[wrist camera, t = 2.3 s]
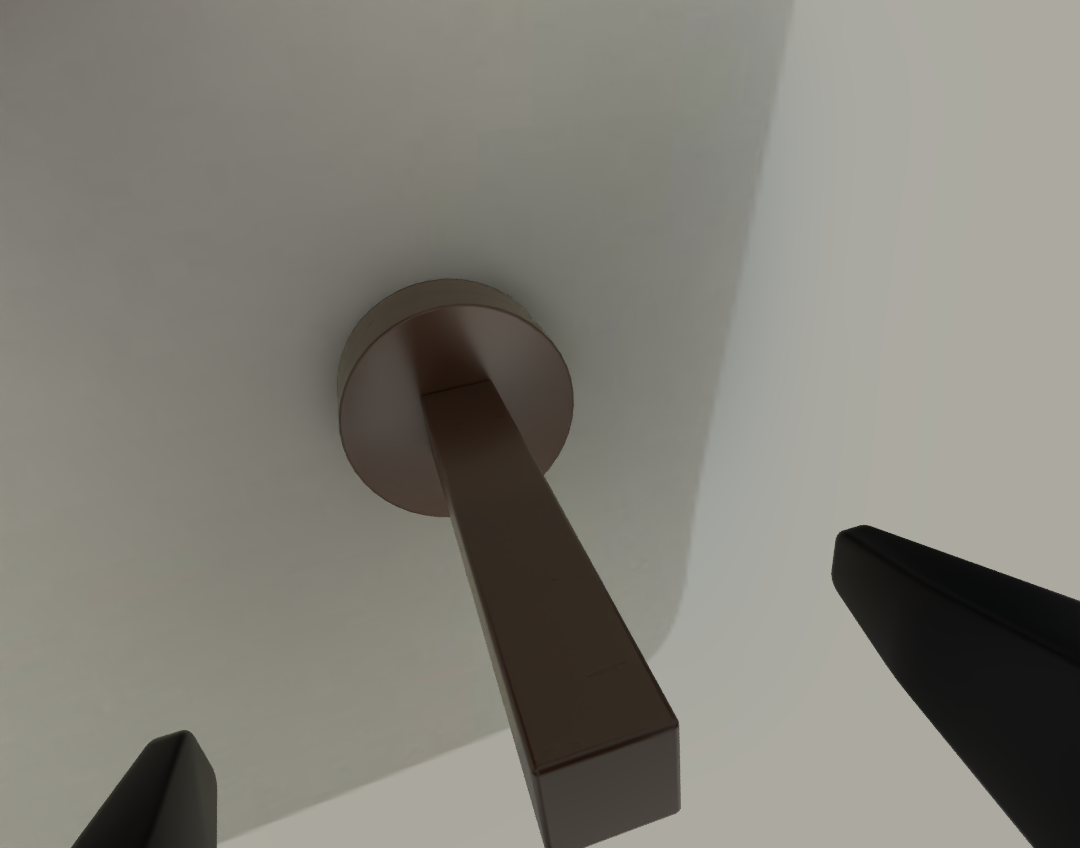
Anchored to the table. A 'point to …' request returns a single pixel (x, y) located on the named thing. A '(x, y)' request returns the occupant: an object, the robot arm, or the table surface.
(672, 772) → the lever handle
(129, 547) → the table surface
